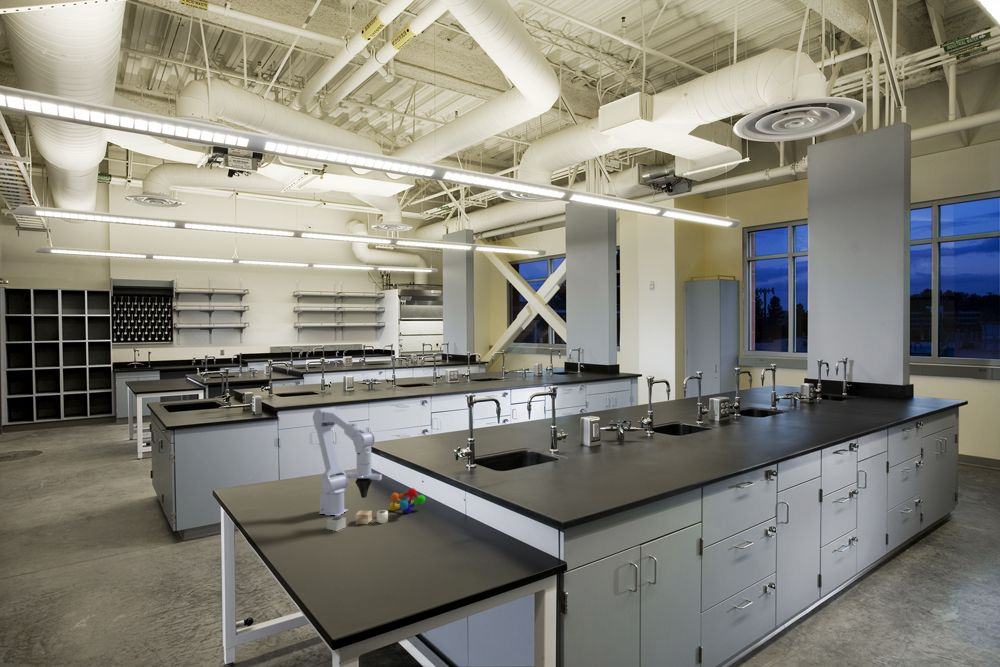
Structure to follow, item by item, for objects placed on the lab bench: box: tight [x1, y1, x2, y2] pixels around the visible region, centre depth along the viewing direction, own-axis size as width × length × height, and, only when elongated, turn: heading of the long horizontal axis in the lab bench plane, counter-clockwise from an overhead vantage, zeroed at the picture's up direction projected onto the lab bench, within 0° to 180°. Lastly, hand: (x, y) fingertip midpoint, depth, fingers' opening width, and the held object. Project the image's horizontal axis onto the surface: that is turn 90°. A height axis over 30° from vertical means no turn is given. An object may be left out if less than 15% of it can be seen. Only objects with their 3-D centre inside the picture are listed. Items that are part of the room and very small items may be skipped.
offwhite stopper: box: [376, 509, 389, 524], centre depth 220 cm, size 4×4×4 cm
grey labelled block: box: [326, 516, 347, 532], centre depth 213 cm, size 5×5×4 cm
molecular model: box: [388, 487, 426, 514], centre depth 233 cm, size 15×10×15 cm
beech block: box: [355, 510, 373, 525], centre depth 220 cm, size 5×5×4 cm
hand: (364, 497), depth 220 cm, fingers closed
